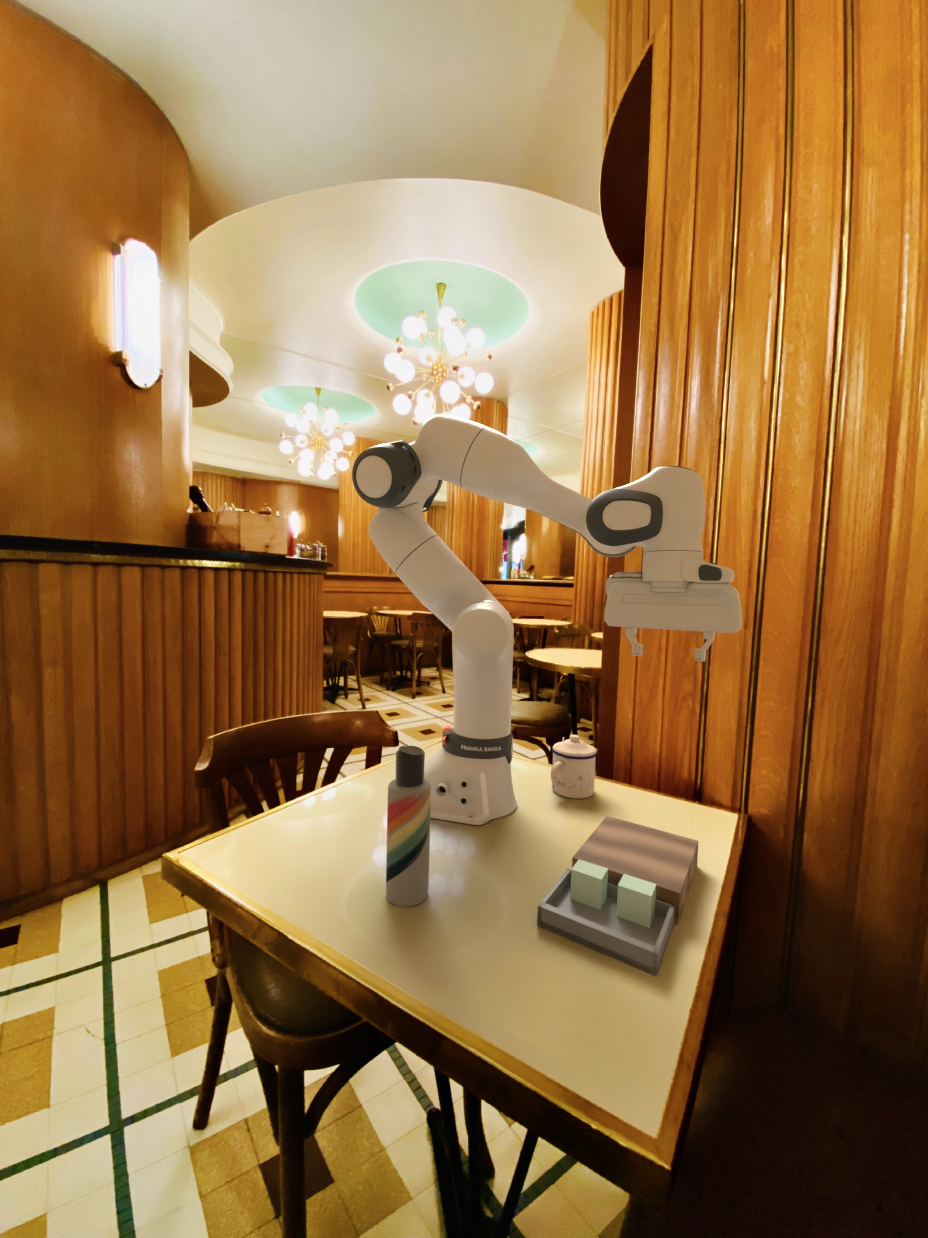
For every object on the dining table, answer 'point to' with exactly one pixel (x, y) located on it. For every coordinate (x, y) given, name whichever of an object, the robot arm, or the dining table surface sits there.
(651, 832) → the walnut bench
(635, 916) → the mint block
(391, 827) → the lotion bottle
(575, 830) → the dining table surface
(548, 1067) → the dining table surface
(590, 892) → the mint block
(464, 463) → the robot arm
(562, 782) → the teacup with lid
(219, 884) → the dining table surface
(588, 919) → the charcoal tray
